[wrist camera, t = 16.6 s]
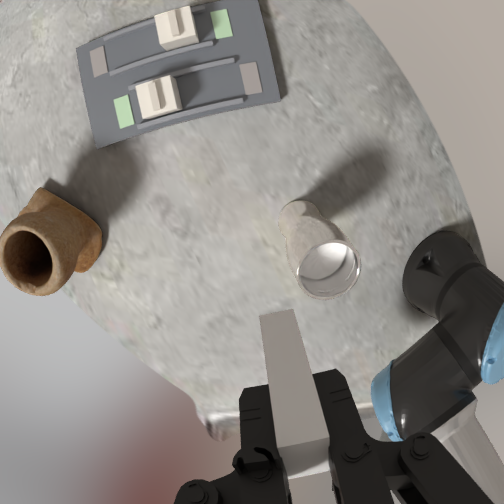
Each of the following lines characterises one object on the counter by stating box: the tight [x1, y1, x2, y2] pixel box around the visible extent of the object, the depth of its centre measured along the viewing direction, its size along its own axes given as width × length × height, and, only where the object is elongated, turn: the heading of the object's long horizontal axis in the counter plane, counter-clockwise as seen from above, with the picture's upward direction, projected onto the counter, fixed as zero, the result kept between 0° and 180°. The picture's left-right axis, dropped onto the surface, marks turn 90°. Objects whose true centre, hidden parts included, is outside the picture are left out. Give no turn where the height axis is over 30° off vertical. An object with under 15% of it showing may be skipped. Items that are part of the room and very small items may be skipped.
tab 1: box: [154, 6, 199, 51], centre depth 27 cm, size 4×4×5 cm
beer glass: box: [278, 200, 361, 300], centre depth 36 cm, size 7×7×15 cm
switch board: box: [76, 0, 281, 149], centre depth 32 cm, size 24×15×3 cm, turn 101°
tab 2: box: [135, 75, 183, 119], centre depth 31 cm, size 4×4×5 cm
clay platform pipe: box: [0, 187, 102, 296], centre depth 34 cm, size 15×12×15 cm
